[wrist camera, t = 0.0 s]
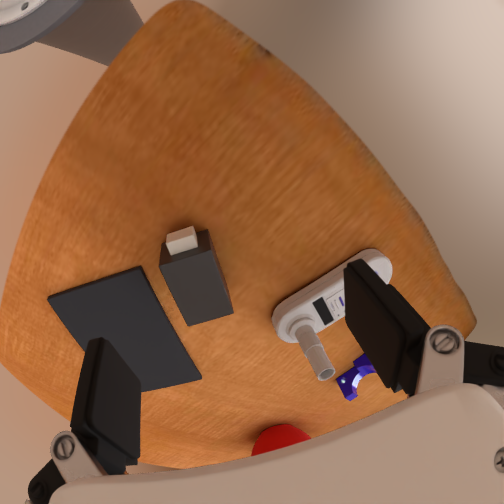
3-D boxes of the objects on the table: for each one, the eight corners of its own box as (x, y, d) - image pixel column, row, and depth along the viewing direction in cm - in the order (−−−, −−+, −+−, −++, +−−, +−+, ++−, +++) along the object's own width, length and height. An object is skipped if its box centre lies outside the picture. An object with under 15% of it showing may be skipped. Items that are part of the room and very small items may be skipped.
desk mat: (48, 296, 26) (46, 299, 26) (140, 265, 27) (140, 268, 27) (123, 392, 36) (123, 395, 35) (201, 375, 36) (202, 379, 36)
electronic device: (433, 317, 26) (310, 398, 27) (384, 270, 34) (282, 335, 35) (430, 284, 23) (290, 376, 24) (375, 238, 32) (262, 309, 33)
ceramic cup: (310, 440, 55) (324, 476, 47) (236, 447, 50) (246, 490, 41) (337, 409, 50) (356, 451, 41) (254, 417, 44) (267, 468, 36)
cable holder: (373, 346, 41) (385, 364, 38) (380, 354, 43) (391, 372, 40) (331, 376, 43) (341, 395, 39) (340, 382, 44) (349, 401, 41)
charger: (156, 232, 26) (152, 253, 23) (203, 217, 26) (206, 236, 23) (186, 300, 30) (188, 326, 27) (228, 288, 30) (234, 313, 27)
